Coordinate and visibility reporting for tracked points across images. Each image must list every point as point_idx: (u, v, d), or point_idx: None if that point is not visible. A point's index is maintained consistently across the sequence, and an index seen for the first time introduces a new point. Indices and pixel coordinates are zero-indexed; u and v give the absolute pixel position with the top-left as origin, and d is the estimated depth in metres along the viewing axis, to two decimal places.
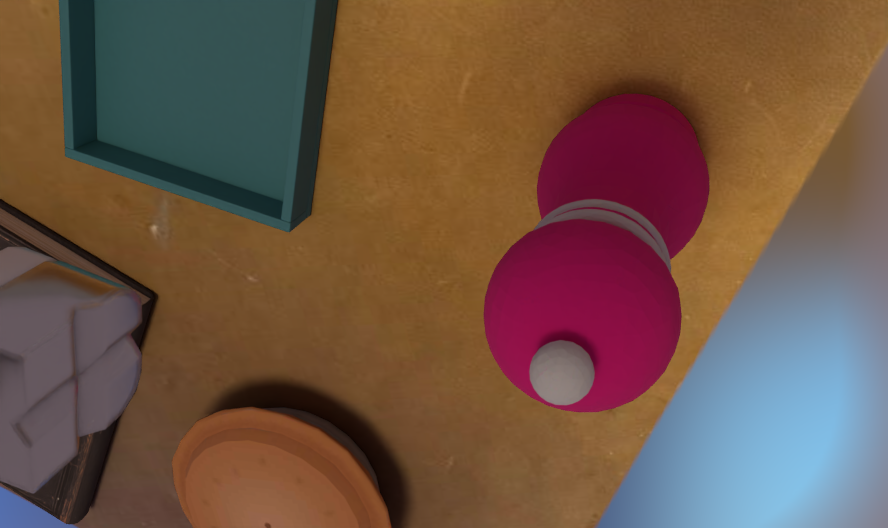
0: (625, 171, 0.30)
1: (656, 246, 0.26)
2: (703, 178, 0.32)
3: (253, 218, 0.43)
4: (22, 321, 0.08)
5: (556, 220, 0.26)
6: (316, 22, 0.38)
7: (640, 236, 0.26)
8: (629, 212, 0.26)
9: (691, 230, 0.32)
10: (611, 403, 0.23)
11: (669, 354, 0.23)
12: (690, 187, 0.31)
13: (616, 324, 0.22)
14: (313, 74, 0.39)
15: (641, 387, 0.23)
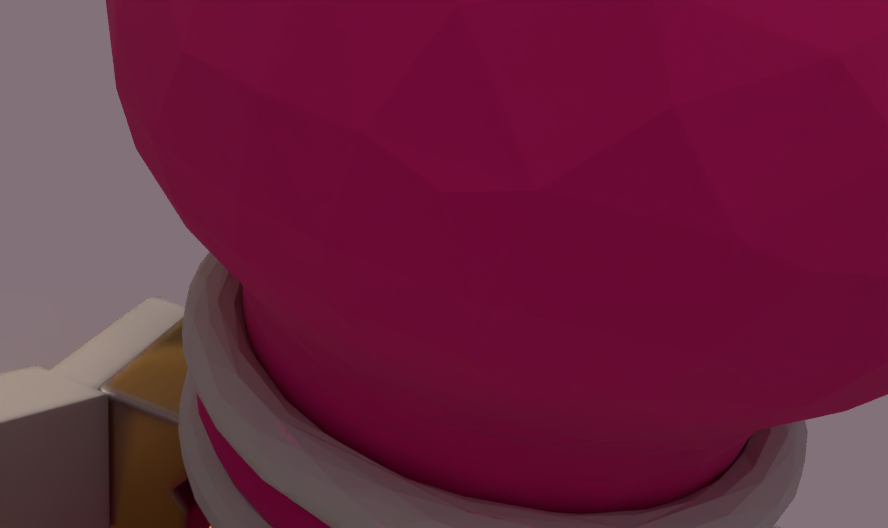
0: None
1: None
2: None
3: None
4: (181, 383, 0.07)
5: (214, 373, 0.05)
6: None
7: None
8: None
9: None
10: None
11: None
12: None
13: None
14: None
15: None
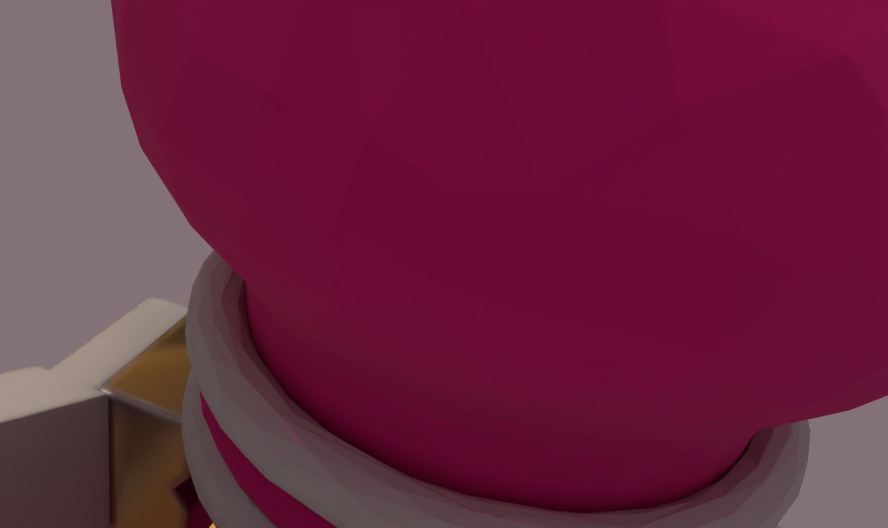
0: None
1: None
2: None
3: None
4: (182, 383, 0.07)
5: (218, 372, 0.05)
6: None
7: None
8: None
9: None
10: None
11: None
12: None
13: None
14: None
15: None
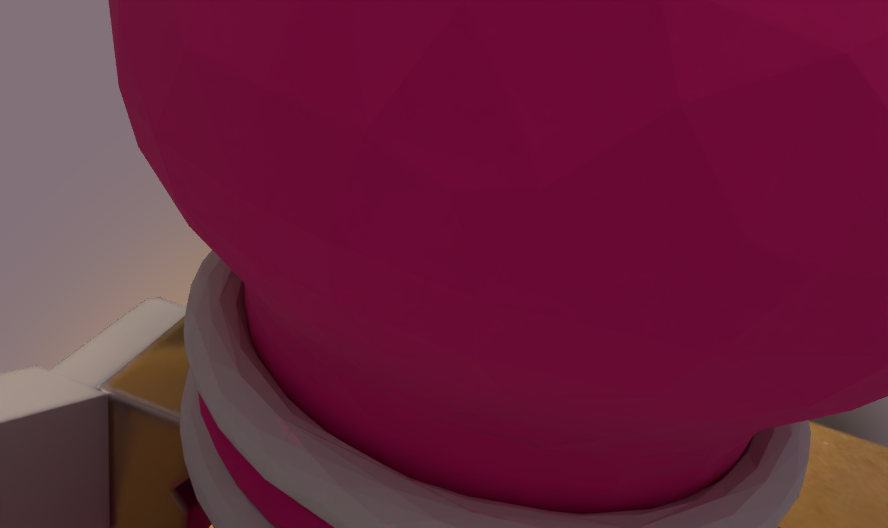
0: None
1: None
2: None
3: None
4: (181, 382, 0.07)
5: (217, 372, 0.05)
6: None
7: None
8: None
9: None
10: None
11: None
12: None
13: None
14: None
15: None
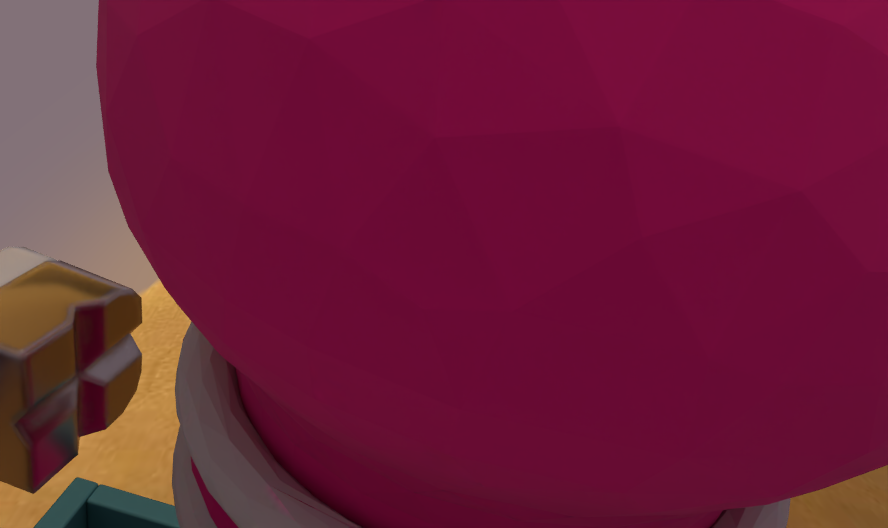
0: None
1: None
2: None
3: None
4: (22, 321, 0.08)
5: (207, 436, 0.05)
6: None
7: None
8: None
9: None
10: None
11: None
12: None
13: None
14: None
15: None
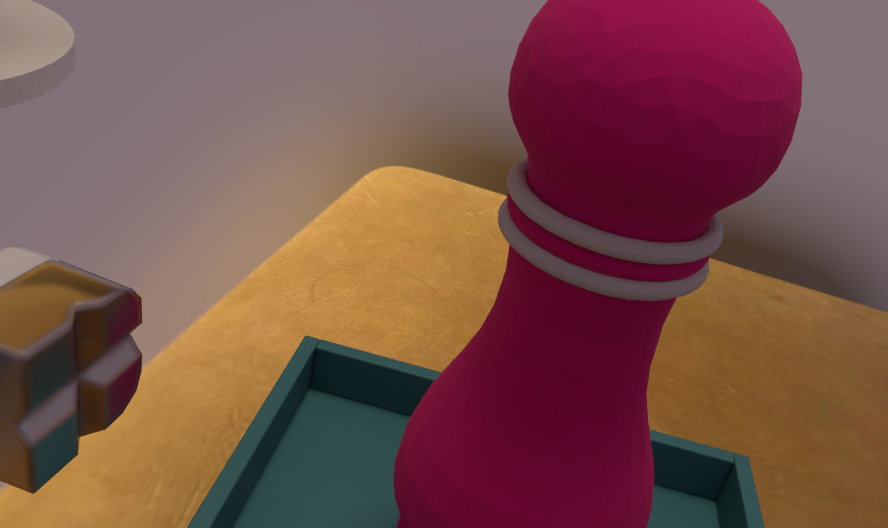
0: (474, 345, 0.21)
1: None
2: None
3: (755, 497, 0.28)
4: (22, 321, 0.08)
5: (536, 206, 0.17)
6: None
7: None
8: None
9: None
10: None
11: None
12: None
13: None
14: None
15: None
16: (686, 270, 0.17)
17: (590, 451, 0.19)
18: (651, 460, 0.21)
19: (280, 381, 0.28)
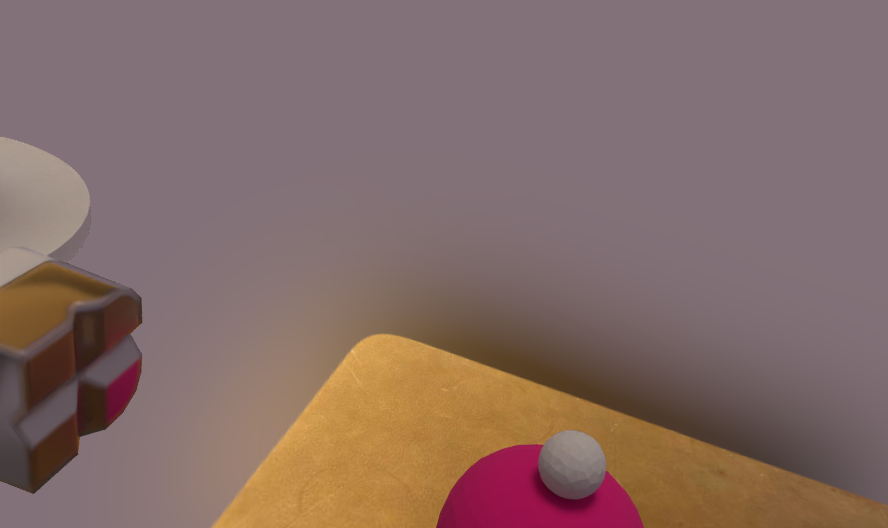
0: None
1: None
2: None
3: None
4: (22, 321, 0.08)
5: None
6: None
7: None
8: None
9: None
10: None
11: None
12: None
13: (514, 454, 0.23)
14: None
15: None
16: None
17: None
18: None
19: None
